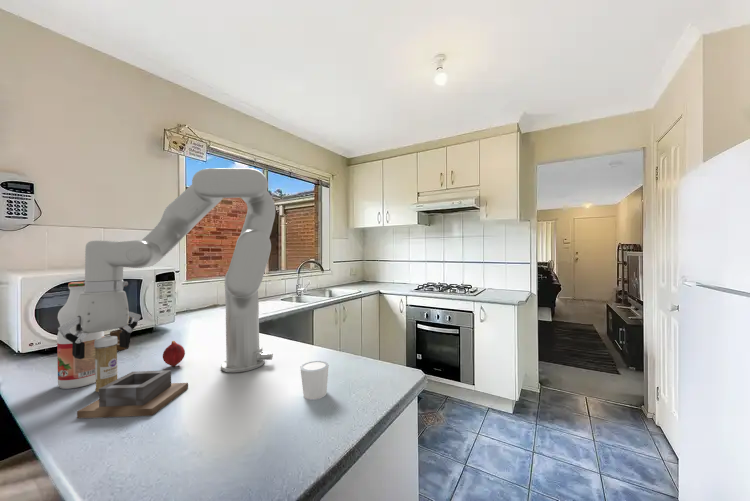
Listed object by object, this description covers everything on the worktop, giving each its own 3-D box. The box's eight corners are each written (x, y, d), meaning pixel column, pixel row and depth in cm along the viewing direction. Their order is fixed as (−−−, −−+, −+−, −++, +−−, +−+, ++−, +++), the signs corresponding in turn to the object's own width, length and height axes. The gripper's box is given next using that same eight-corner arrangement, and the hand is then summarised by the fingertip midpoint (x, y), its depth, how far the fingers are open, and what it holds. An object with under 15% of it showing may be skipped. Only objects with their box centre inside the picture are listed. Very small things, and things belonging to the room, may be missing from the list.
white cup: (304, 403, 69) (304, 373, 69) (297, 391, 75) (297, 363, 75) (333, 396, 72) (332, 367, 72) (324, 385, 78) (323, 358, 78)
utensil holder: (114, 347, 116) (114, 316, 116) (133, 346, 117) (133, 315, 117) (104, 352, 110) (104, 319, 110) (124, 350, 111) (124, 318, 112)
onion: (189, 364, 96) (188, 339, 96) (170, 371, 91) (169, 344, 91) (177, 361, 98) (177, 337, 98) (158, 368, 93) (158, 342, 93)
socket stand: (188, 388, 78) (187, 367, 78) (152, 415, 65) (151, 390, 65) (125, 390, 78) (125, 369, 78) (77, 418, 65) (76, 392, 65)
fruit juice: (97, 385, 82) (95, 282, 82) (50, 392, 78) (48, 284, 78) (110, 372, 90) (108, 279, 90) (68, 379, 86) (66, 281, 86)
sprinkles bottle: (110, 392, 77) (109, 339, 77) (90, 393, 77) (89, 340, 77) (122, 384, 82) (121, 335, 82) (103, 385, 81) (103, 336, 81)
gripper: (132, 284, 89) (131, 342, 88) (51, 290, 73) (50, 361, 72) (148, 285, 86) (147, 345, 86) (68, 291, 70) (66, 365, 70)
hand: (102, 352), depth 79 cm, fingers open, 9 cm apart
